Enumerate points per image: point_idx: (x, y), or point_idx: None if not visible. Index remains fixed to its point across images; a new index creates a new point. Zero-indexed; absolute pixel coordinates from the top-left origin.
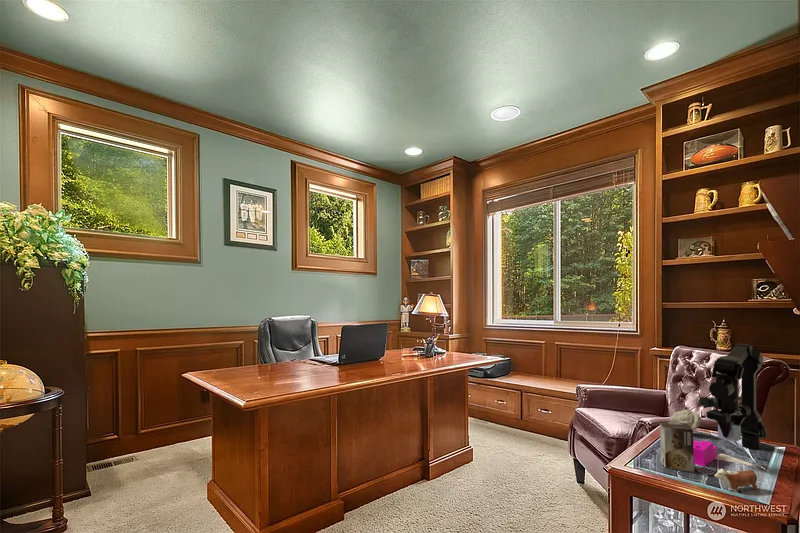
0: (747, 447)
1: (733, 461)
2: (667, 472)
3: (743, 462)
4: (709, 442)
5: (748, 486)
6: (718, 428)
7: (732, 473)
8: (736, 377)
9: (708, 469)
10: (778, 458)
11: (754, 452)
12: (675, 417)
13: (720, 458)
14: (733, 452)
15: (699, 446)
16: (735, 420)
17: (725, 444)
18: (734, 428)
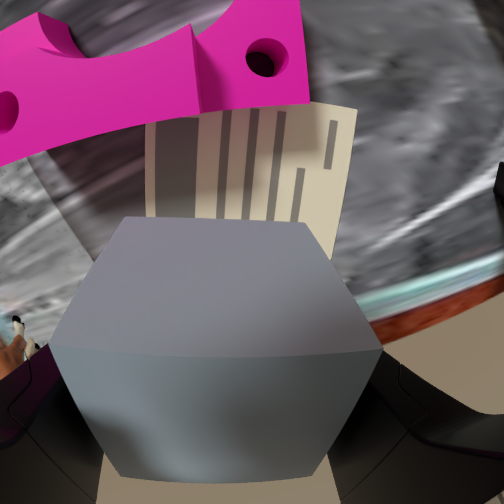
0: (498, 183)
1: (285, 191)
2: None
3: (317, 226)
4: (185, 91)
5: (32, 343)
6: (81, 292)
7: None
8: None
9: (53, 165)
10: (460, 283)
11: (473, 212)
12: None
13: (267, 129)
14: (421, 148)
15: (22, 106)
16: (364, 491)
17: (483, 100)
18: (138, 476)
